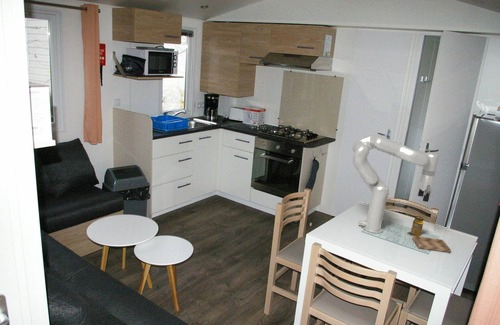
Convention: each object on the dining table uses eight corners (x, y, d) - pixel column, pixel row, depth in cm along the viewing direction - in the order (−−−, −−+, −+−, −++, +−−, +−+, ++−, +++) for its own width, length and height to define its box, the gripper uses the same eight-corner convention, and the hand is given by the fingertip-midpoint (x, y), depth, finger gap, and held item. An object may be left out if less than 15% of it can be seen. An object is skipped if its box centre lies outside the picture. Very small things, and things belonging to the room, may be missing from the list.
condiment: (423, 235, 252) (427, 218, 249) (415, 238, 248) (419, 220, 245) (413, 231, 258) (417, 214, 255) (405, 233, 254) (409, 216, 251)
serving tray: (418, 248, 233) (419, 244, 232) (412, 239, 245) (412, 235, 244) (449, 252, 231) (450, 249, 231) (441, 243, 244) (442, 239, 243)
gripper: (417, 168, 251) (412, 193, 255) (426, 175, 234) (421, 202, 239) (429, 169, 251) (424, 195, 255) (439, 177, 234) (433, 204, 238)
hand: (422, 198), depth 247 cm, fingers open, 9 cm apart
